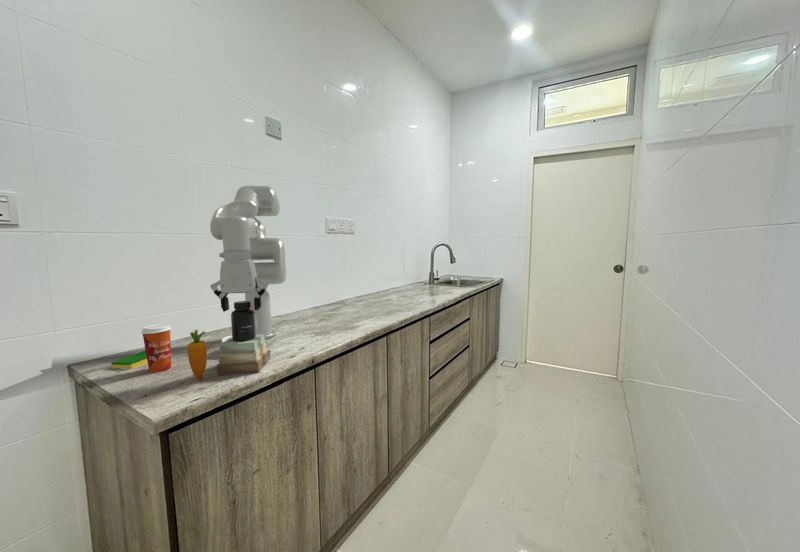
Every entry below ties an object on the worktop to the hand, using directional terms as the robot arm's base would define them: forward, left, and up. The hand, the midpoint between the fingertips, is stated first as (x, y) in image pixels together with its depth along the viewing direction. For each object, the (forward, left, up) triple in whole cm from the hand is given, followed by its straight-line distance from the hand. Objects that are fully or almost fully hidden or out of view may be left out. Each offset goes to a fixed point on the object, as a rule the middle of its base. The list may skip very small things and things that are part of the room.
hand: (241, 310), depth 103 cm
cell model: (-16, -9, -19) cm, 26 cm away
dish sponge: (-10, -39, -19) cm, 45 cm away
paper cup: (-1, -27, -19) cm, 33 cm away
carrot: (+10, -9, -19) cm, 23 cm away
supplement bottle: (0, 0, -10) cm, 10 cm away
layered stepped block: (+1, 0, -18) cm, 18 cm away
